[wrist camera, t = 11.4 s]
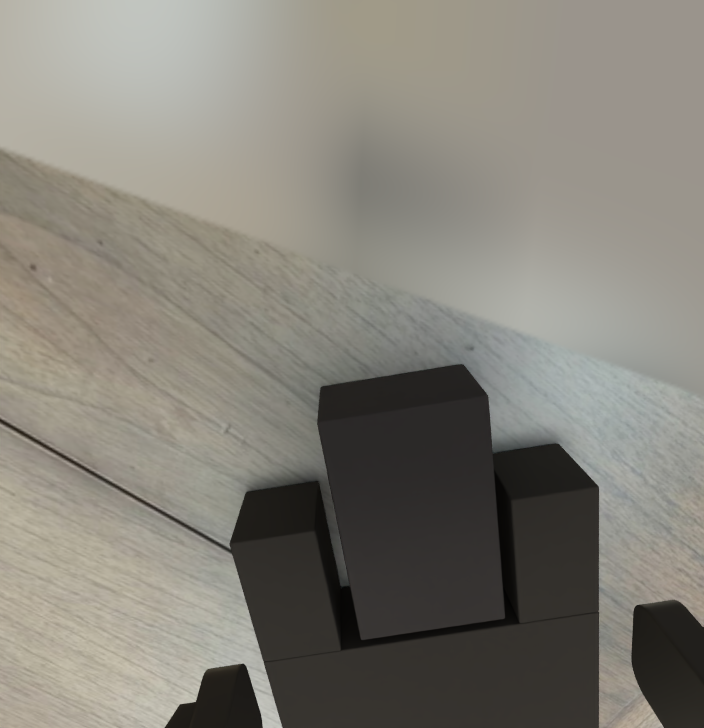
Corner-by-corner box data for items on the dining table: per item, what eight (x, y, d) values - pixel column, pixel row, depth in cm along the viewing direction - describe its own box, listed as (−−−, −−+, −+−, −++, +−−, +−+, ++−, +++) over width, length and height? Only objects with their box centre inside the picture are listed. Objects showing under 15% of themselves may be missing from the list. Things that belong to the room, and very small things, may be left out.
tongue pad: (320, 386, 20) (316, 422, 17) (463, 363, 20) (488, 394, 17) (357, 578, 23) (360, 641, 20) (481, 559, 23) (505, 619, 20)
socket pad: (245, 491, 21) (228, 544, 18) (558, 442, 21) (599, 486, 18) (304, 714, 26) (300, 790, 22) (565, 676, 26) (599, 746, 22)
